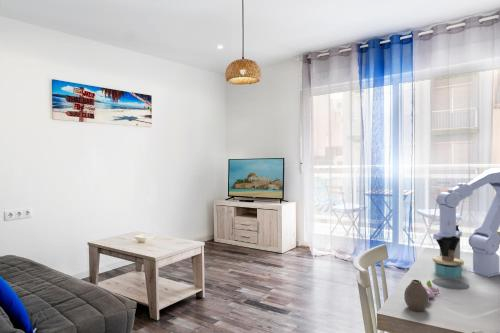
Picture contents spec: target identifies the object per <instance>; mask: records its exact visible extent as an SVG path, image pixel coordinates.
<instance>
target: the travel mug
mask: <svg viewBox="0 0 500 333" xmlns="http://www.w3.org/2000/svg"><path fill="white" fill-rule="evenodd" d="M459 226H460V223H458V222H456V231H460V229H459ZM456 237H457V238H460V239H461V236H456ZM439 256H442V253H441V249H440V248H439ZM454 258H458V259H461V240H460V241H459V242H458V244H457V246H456V249H455V252H454Z"/></svg>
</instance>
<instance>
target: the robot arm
mask: <svg viewBox="0 0 500 333" xmlns="http://www.w3.org/2000/svg"><path fill="white" fill-rule="evenodd" d="M487 184H489V185H490V186H491V188H492V189H493V190H494V191H495V192H496V194H495V195H494V196H493V197H494V198H493V200H492V201H491V205H490V207H489V209H488V211H487V212H486V216H485V218H484V220H483V222H482V224H481V226H480V227H478V228H476V229H475V230H474V231H473V232H472V234H470V236H469V237H468V245H469V246H470V247H471V250H472V269H469V270H467V272H469V273H474V274H477V275H480V276H484V277H487V278H489V277H490V278H491V277H494V276H499V275H500V257H499V255H498V254H497V252H498V251H499V248H500V235H499V234H498V231H499V228H500V168H494V167H493V168H488V169H487V170H484V171H483V173H481V174H480V175H478V176H477V177H475V178H474V179H472V180H470V181H469V182H467V183H466V182H459V183H457V185H456V186H454V187H452V188H448V189H447V190H446V191H442V192H440V193H439V194H438V195H437V197H436V199H435V201H436V203H437V205H438V209H439V231H438V232H436V233H433V236H432V238H433V239H434V240H435V241H436V242H437V244H438V247H439V250H440V249H441V253H442V256H446V257H447V256H448V253H449V249H451V250H454V252H455V249H456V246H457V244H458V242H459V241H460V242H461V237H462V233H463V232H462V231H460V230H459V231H456V223H457V207H458V206H459V205H460V202H461V201H463V200H465V199H467V198H468V197H470V196H472V195H473V194H474V192H473V191H475V190H478V189H479V188H481V187H483V186H485V185H487ZM456 236H460V238H457V237H456Z"/></svg>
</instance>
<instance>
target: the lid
mask: <svg viewBox="0 0 500 333" xmlns="http://www.w3.org/2000/svg"><path fill="white" fill-rule="evenodd" d="M432 261H433V262H434V263H435V262H436V263H439V264H444V265H454V266H457V265H461V266H463V265H464V264H465V260H464V259H461V258H460V259H458V258H454V250H451V249H449V253H448V256H447V257H446V256H440V255H439V256H438V255H437V256H433V257H432Z"/></svg>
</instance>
